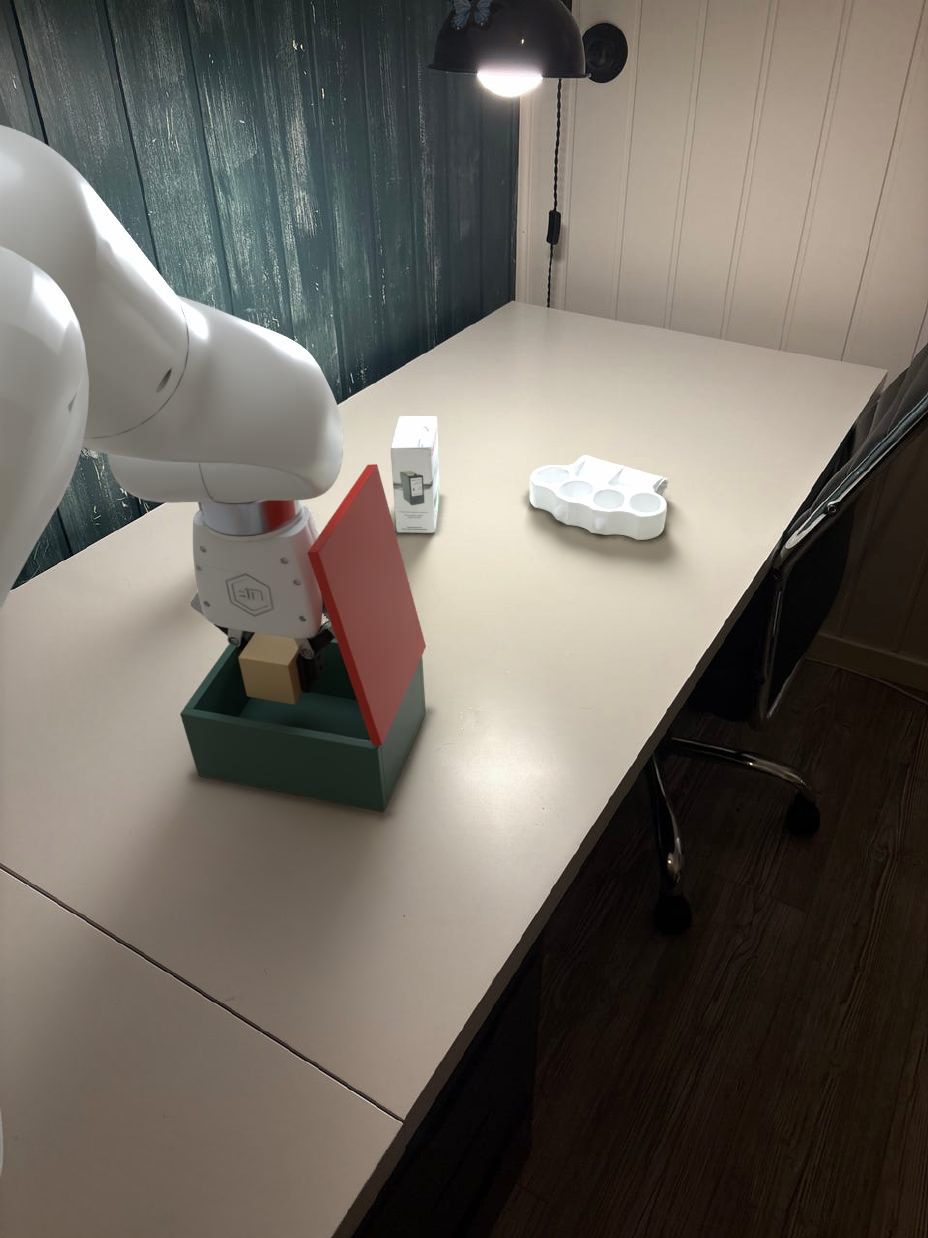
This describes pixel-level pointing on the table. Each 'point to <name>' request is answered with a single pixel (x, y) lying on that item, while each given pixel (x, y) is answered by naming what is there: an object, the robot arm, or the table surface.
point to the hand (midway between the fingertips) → (284, 675)
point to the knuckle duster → (602, 497)
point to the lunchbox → (300, 735)
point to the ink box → (415, 474)
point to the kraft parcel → (271, 668)
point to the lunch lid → (369, 601)
